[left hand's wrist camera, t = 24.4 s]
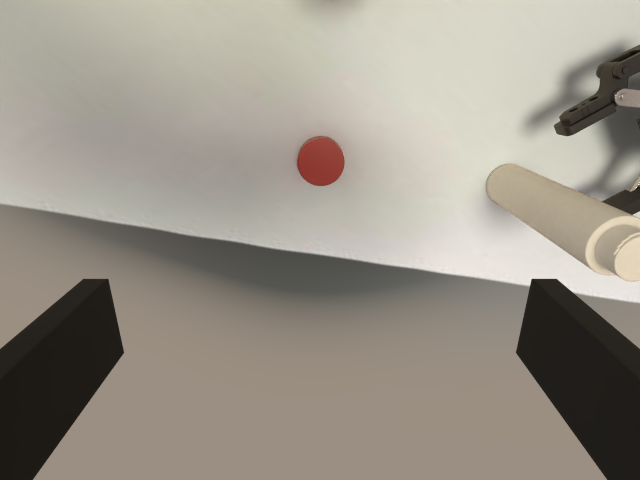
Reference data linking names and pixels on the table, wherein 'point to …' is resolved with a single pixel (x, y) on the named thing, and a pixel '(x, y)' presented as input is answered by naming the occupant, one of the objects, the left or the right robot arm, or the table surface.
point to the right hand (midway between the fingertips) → (577, 176)
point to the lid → (320, 161)
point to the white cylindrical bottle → (571, 220)
